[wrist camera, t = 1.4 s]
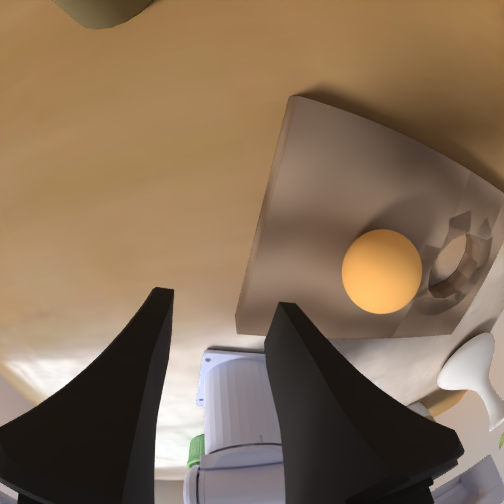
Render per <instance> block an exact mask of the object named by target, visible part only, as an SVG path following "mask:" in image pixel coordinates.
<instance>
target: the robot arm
mask: <svg viewBox="0 0 504 504" xmlns="http://www.w3.org/2000/svg"><path fill="white" fill-rule="evenodd" d="M173 301H174V289H167V288H160V287H155V288H154V289H152V291H151V293H150V294H149V296H148V297H147V299H146V300H145V302H144V303H143V305H142V306H141V307H140V309H139V310H138V312H137V313H136V314H135V315H134V317H133V318H132V319H131V320H130V322H129V323H128V324H127V325H126V327H125V328H124V329H123V330H122V331H121V333H120V334H119V335H118V336H117V337H116V338H115V339H114V340H113V341H112V343H111V344H110V345H109V346H108V347H107V348H106V349H105V350H104V351H103V352H102V353H101V354H100V355H99V356H98V357H97V358H96V359H95V360H94V361H93V362H92V363H91V364H90V365H89V366H88V367H87V368H86V369H84V370H83V371H82V372H81V373H80V374H79V375H77V376H76V377H75V378H74V379H73V380H72V381H70V382H69V383H68V384H67V385H65V386H64V387H63V388H62V389H60V390H59V391H57V392H56V393H55V394H53V395H52V396H50V397H49V398H48V399H46V400H45V401H43V402H42V403H40V404H39V405H38V406H36V407H34V408H33V409H31V410H30V411H28V412H26V413H25V414H23V415H21V416H19V417H17V418H16V419H14V420H12V421H10V422H8V423H7V424H5V425H3V426H1V427H0V482H1V483H2V484H4V485H6V486H7V487H9V488H11V489H13V490H14V491H16V492H18V493H19V494H18V500H16V499H14V498H12V497H10V496H9V495H7V494H5V493H3V492H1V491H0V504H154V463H155V439H156V424H157V416H158V410H159V405H160V400H161V395H162V390H163V385H164V380H165V375H166V370H167V365H168V360H169V352H170V343H171V334H172V316H173ZM264 347H265V354H261V353H244V352H230V351H218V350H205V351H204V352H203V358H202V364H201V370H200V377H199V384H198V390H197V397H196V405H198V406H204V434H205V455H200V465H194V466H192V468H191V469H190V470H189V471H188V472H187V474H186V476H185V480H184V488H183V495H184V504H501V503H502V502H503V500H504V484H503V481H502V479H501V477H500V474H499V472H498V470H497V468H496V465H495V463H494V461H493V459H492V457H491V455H488V456H486V457H485V458H484V459H482V460H481V461H480V462H478V463H477V464H475V465H474V466H472V467H471V468H469V469H468V470H467V471H465V472H464V473H462V474H460V475H458V476H457V477H455V478H454V479H452V480H450V481H449V482H447V483H445V484H443V485H442V486H440V487H438V488H436V489H435V490H434V491H432V492H430V489H429V486H431V485H433V483H434V482H433V479H432V477H431V476H432V475H434V474H436V473H437V472H439V471H441V470H442V469H444V468H445V467H447V466H448V465H450V464H451V463H453V462H454V461H455V460H457V459H458V458H459V457H460V456H462V455H463V454H464V448H463V446H462V444H461V442H460V440H459V438H458V435H457V433H456V432H455V430H453V429H450V428H448V427H446V426H443V425H441V424H439V423H436V422H434V421H432V420H430V419H428V418H426V417H424V416H422V415H420V414H418V413H416V412H415V411H413V410H411V409H409V408H408V407H406V406H404V405H403V404H401V403H400V402H398V401H397V400H395V399H394V398H392V397H391V396H389V395H388V394H386V393H385V392H384V391H382V390H381V389H380V388H378V387H377V386H376V385H375V384H373V383H372V382H371V381H370V380H369V379H367V378H366V377H365V376H364V375H363V374H361V373H360V372H359V371H358V370H357V369H356V368H355V367H354V366H353V365H352V364H351V363H350V362H349V361H348V360H347V359H346V358H345V357H343V356H342V355H341V354H340V352H339V351H338V350H337V349H336V348H335V347H334V346H333V345H332V344H331V343H330V342H329V341H328V340H327V338H326V337H325V336H324V335H323V334H322V333H321V332H320V331H319V329H318V328H317V327H316V326H315V325H314V324H313V322H312V321H311V320H310V319H309V318H308V317H307V315H306V314H305V313H304V312H303V311H302V310H301V309H300V307H299V306H298V305H297V304H296V303H289V302H278V305H277V308H276V311H275V314H274V317H273V319H272V322H271V325H270V328H269V331H268V333H267V336H266V339H265V342H264Z"/></svg>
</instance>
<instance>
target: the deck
mask: <svg viewBox="0 0 504 504" xmlns="http://www.w3.org/2000/svg"><path fill="white" fill-rule="evenodd" d="M379 229H386V230H392V231H395V232H398V233H400V234H402V235H403V236H405V237H406V238H407V239H409V240H410V241H411V243H412V244H413V245H414V246H415V248H416V250H417V251H418V254H419V256H420V259H421V264H422V278H421V283H420V286H419V288H418V291H417V293H416V294H415V296H414V297H413V299H412V300H411V301H410V302H409V303H408V304H407V305H406V306H404V307H403V308H401V309H399V310H397V311H395V312H392V313H387V314H376V313H371V312H368V311H366V310H363V309H362V308H360V307H359V306H357V305H356V304H355V303H354V302H353V301H352V300H351V298H350V297H349V296H348V294H347V292H346V290H345V288H344V285H343V280H342V264H343V260H344V257H345V255H346V252H347V250H348V249H349V247H350V246H351V244H352V243H353V242H354V241H355V240H356V239H357V238H359V237H360V236H361V235H363V234H365V233H367V232H370V231H373V230H379ZM463 234H466V237H467V241H466V250H465V254H464V256H463V258H462V260H461V262H460V264H459V266H458V268H457V269H456V270H455V271H454V273H453V274H452V275H451V276H450V277H449V278H448V279H447V280H446V281H444V282H442V283H440V284H438V285H435V286H428V283H429V273H430V271H431V269H432V267H433V265H434V263H435V261H436V259H437V257H438V255H439V253H440V252H441V251H442V250H443V249H444V248H445V247H446V246H447V245H448V244H449V243H450V241H451V240H452V239H454V238H456V237H459V236H461V235H463ZM503 241H504V193H503V192H502V191H500V190H499V189H497V188H496V187H494V186H493V185H492V184H490V183H489V182H487V181H486V180H484V179H483V178H481V177H480V176H478V175H476V174H475V173H473V172H472V171H470V170H468V169H467V168H465V167H464V166H462V165H460V164H458V163H457V162H455V161H453V160H452V159H450V158H448V157H446V156H444V155H443V154H441V153H439V152H437V151H435V150H433V149H432V148H430V147H428V146H426V145H424V144H422V143H420V142H418V141H416V140H414V139H412V138H410V137H407V136H405V135H403V134H401V133H399V132H397V131H394V130H392V129H390V128H388V127H385V126H383V125H381V124H378V123H376V122H373V121H371V120H368V119H366V118H363V117H361V116H358V115H355V114H353V113H350V112H347V111H345V110H342V109H339V108H336V107H333V106H330V105H327V104H324V103H321V102H318V101H314V100H311V99H308V98H304V97H301V96H291V97H289V100H288V104H287V108H286V112H285V116H284V120H283V124H282V128H281V132H280V136H279V140H278V144H277V148H276V152H275V156H274V160H273V164H272V168H271V172H270V176H269V180H268V184H267V188H266V192H265V196H264V201H263V205H262V209H261V213H260V217H259V221H258V225H257V229H256V233H255V237H254V241H253V245H252V249H251V253H250V257H249V261H248V265H247V269H246V274H245V278H244V282H243V286H242V290H241V294H240V298H239V302H238V306H237V310H236V314H235V319H236V330H237V334H245V335H258V336H267V333H268V331H269V328H270V325H271V322H272V319H273V317H274V314H275V311H276V308H277V305H278V302H289V303H296V304H297V305H298V306H299V307H300V309H301V310H302V311H303V312H304V313H305V314H306V315H307V317H308V318H309V319H310V320H311V321H312V322H313V324H314V325H315V326H316V327H317V328H318V329H319V331H320V332H321V333H322V334H323V335H324V336H325V337H326V338H327V339H371V338H403V337H422V336H436V335H448V334H452V333H453V331H454V330H455V328H456V327H457V325H458V324H459V322H460V321H461V319H462V318H463V316H464V314H465V313H466V311H467V310H468V308H469V306H470V305H471V303H472V301H473V300H474V298H475V296H476V295H477V293H478V291H479V289H480V288H481V286H482V284H483V282H484V280H485V278H486V277H487V275H488V273H489V271H490V269H491V267H492V265H493V263H494V261H495V259H496V257H497V254H498V252H499V250H500V248H501V246H502V243H503Z"/></svg>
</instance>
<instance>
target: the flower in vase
mask: <svg viewBox="0 0 504 504" xmlns="http://www.w3.org/2000/svg"><path fill="white" fill-rule="evenodd" d="M494 344H495V340H494V337H493V334H491V333H482V334H479V335H477V336H476V337H474V338H472V339H471V340H469V341H468V342H466V343H465V344H464V345H463V346H461V347H460V348H459V349H458V350H457V351H456V352H455V353H454V354H453V355H452V356H451V357H450V359H449V360H448V361H447V362H446V364H445V365H444V367H443V368H442V370H441V371H440V373H439V375H438V382H437V384H438V386H439V387H441V388H442V389H446V390H463V389H470V390H474V391H476V392H477V393H478V394H479V395H480V397H481V398H482V399H483V401H484V403H485V405H486V408H487V410H488V413H489V417H490V428H489V432H490V431H492V430H493V429H494V428H496V427H497V426H498V425H499V424H501V423H502V422H503V421H504V401H503V400H502V399H501V398H500V397H499V395H498V394H497V393H496V391H495V390H494V388H493V387H492V385H491V383H490V380H489V370H490V365H491V361H492V357H493V352H494ZM503 442H504V433H503V435H502V437H501V439H500V442H499V449H500V448H501V446H502V444H503Z"/></svg>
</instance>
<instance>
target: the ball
mask: <svg viewBox="0 0 504 504" xmlns="http://www.w3.org/2000/svg"><path fill="white" fill-rule="evenodd" d="M421 278H422V264H421V259H420V256H419V254H418V251H417V250H416V248H415V246H414V245H413V244H412V243H411V241H410V240H409V239H407V238H406V237H405V236H403V235H402V234H400V233H398V232H395V231H392V230H386V229H379V230H373V231H370V232H367V233H365V234H363V235H361V236H360V237H359V238H357V239H356V240H355V241H354V242H353V243H352V244H351V246H350V247H349V249H348V250H347V252H346V255H345V257H344V260H343V264H342V280H343V285H344V288H345V290H346V292H347V294H348V296H349V297H350V298H351V300H352V301H353V302H354V303H355V304H356V305H357V306H359V307H360V308H362V309H363V310H366V311H368V312H371V313H376V314H387V313H392V312H395V311H397V310H399V309H401V308H403V307H404V306H406V305H407V304H408V303H409V302H410V301H411V300H412V299H413V297H414V296H415V294H416V293H417V291H418V288H419V286H420V283H421Z"/></svg>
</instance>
